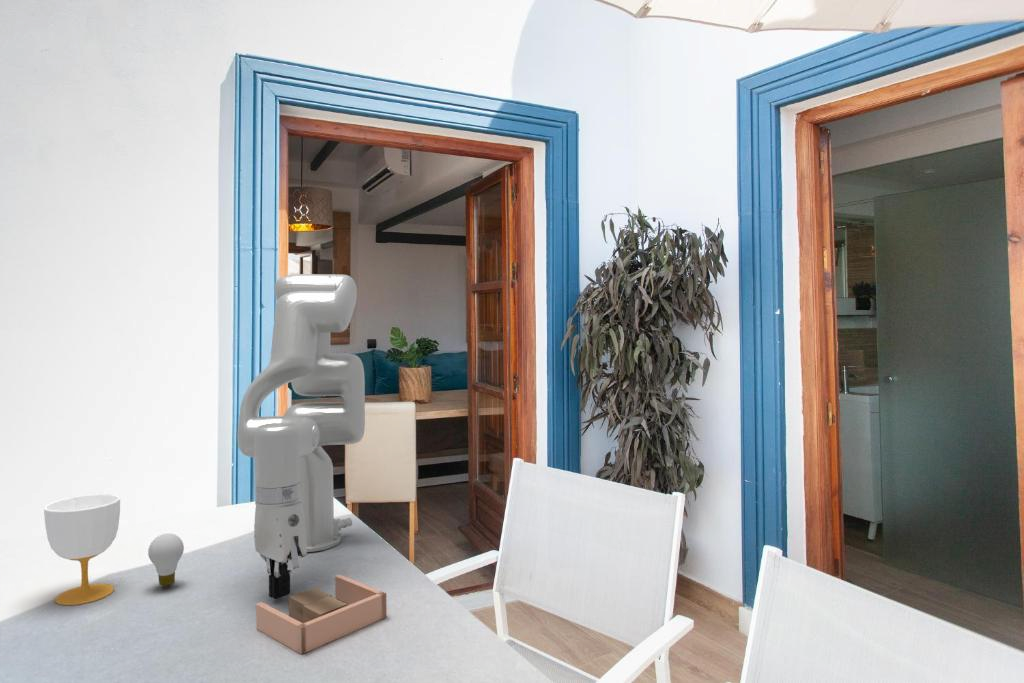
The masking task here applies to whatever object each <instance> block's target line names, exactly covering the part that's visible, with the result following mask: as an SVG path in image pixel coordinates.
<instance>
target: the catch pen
mask: <svg viewBox="0 0 1024 683" xmlns="http://www.w3.org/2000/svg"><path fill="white" fill-rule="evenodd" d="M334 580H335V582H334V584H335V588H334V589H335V590H334V591H335V599H337V600H339V601H341V602H343V603H345V604H347V606H346V607H343V608H341V609H338V610H336V611H333V612H331V613H328V614H326V615H323V616H321V617H318V618H316V619H313V620H311V621H308V622H306V623H301V622H299V621H297V620H295V619H294V618H292V617H290V616H289V614H286V613H284V612H282V611H280V610H278V609H276V608H274V607H272V606H270V605H268V604H266V603H264V601H263V602H262V601H261V602H259V603H256V604H255V620H256V621H255V622H256V623H255V624H256V630H258V631H259V632H262V633H263V634H265V635H266V636H269V637H270V638H272V639H274V640H276V641H277V642H279V643H281V644H282V645H285V646H286V647H288V648H289V649H291V650H292V651H294V652H296V653H298V654H300V655H303V654H306V653H308V652H310V651H312V650H315V649H317V648H319V647H322V646H324V645H326V644H329V643H330V642H331V643H332V642H333V641H335V640H337V639H340V638H342V637H344V636H346V635H348V634H351V633H354V632H356V631H359V630H361V629H362V628H365V627H367V626H369V625H371V624H374V623H376V622H378V621H381V620H383V619H385V618H387V616H388V614H387V593H386V592H384V591H382V590H379V589H377V588H375V587H372V586H370V585H367V584H364V583H362V582H360V581H357V580H355V579H352V578H350V577H347V576H345V575H342V574H338V575H335V576H334Z"/></svg>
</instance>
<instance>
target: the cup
mask: <svg viewBox="0 0 1024 683" xmlns="http://www.w3.org/2000/svg"><path fill="white" fill-rule="evenodd" d="M43 513H44V516H43V517H44V525H45V530H46V535H47V536H46V538H47V541H48V543H49V546H50V549H51V550H52V551H53V552H54V553H55V554H56V555H57V556H58V557H59V558H62V559H65V560H69V561H77V562H79V563H80V570H81V572H80V573H81V582H80V584H81V585H80V586H76V587H73V588H70V589H67V590H65V591H63V592H61V593H60V594H58V595H57V596H56V597H55V603H56V604H58V605H62V606H77V605H84V604H89V603H93V602H96V601H98V600H99V601H100V600H102V599H104V598H106V597H109V595H111V594H112V593H113V592H114V591H115V589H114V586H113V585H111V584H109V583H94V584H93V583H91V584H89V582H90V581H89V561H90V559H93V558H96V557H98V556H99V555H101V554H103V553H104V552H106V550H107V549H109V548H110V547H111V545H112V544H113V542H114V540H115V539H116V538H117V537H116V536H117V535H118V531H119V524H120V515H121V498H120V496H119V495H117V494H113V493H111V494H110V493H97V494H95V493H94V494H85V495H83V494H82V495H76V496H71V497H67V498H61V499H58V500H55V501H52V502H49V503H47V504H46V505H44V506H43Z"/></svg>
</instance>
